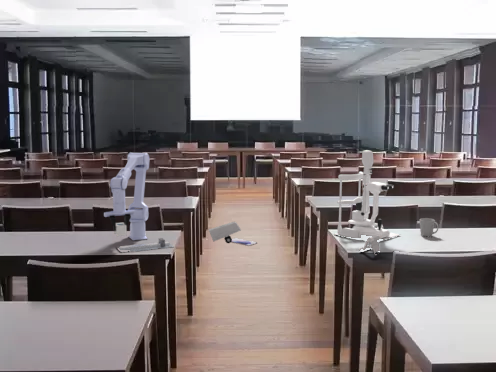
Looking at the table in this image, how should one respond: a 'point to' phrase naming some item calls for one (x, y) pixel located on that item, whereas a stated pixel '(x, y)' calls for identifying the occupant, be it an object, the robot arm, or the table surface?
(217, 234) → the grey tilted panel
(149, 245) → the rail
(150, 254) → the table surface
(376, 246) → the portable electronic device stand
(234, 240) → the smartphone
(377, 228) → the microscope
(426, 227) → the cup
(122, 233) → the block
